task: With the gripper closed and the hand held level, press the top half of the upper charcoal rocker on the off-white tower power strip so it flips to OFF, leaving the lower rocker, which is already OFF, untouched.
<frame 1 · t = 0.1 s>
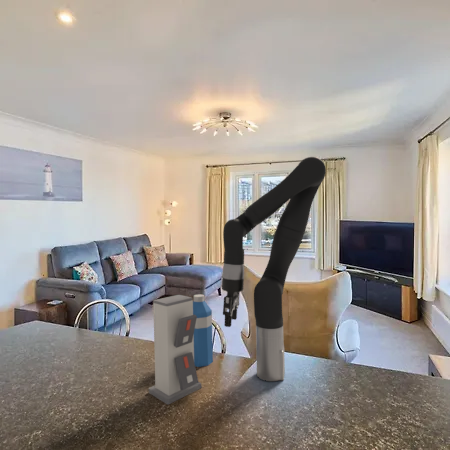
hand: (230, 322, 116), 17 cm above the kitchen counter, tool pointing down, fingers open, 8 cm apart
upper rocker: (185, 331, 100), point 20 cm above the kitchen counter, hinge at 18.0°
lower rocker: (186, 370, 100), point 8 cm above the kitchen counter, hinge at -18.0°
water bottle: (200, 362, 125), on the kitchen counter
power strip: (175, 390, 104), on the kitchen counter
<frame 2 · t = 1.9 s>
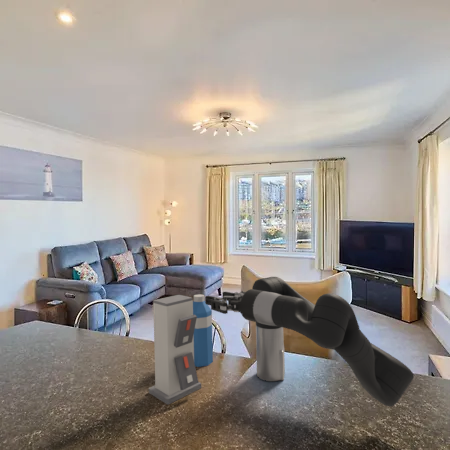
hand: (215, 297, 90), 32 cm above the kitchen counter, tool horizontal, fingers open, 6 cm apart
nothing on the kitchen counter moved.
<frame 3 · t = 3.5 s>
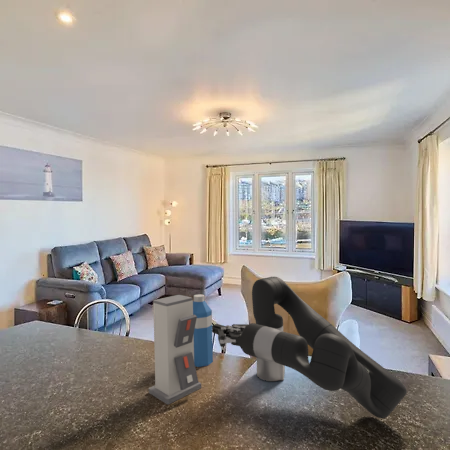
hand: (214, 328, 91), 24 cm above the kitchen counter, tool horizontal, fingers closed
nothing on the kitchen counter moved.
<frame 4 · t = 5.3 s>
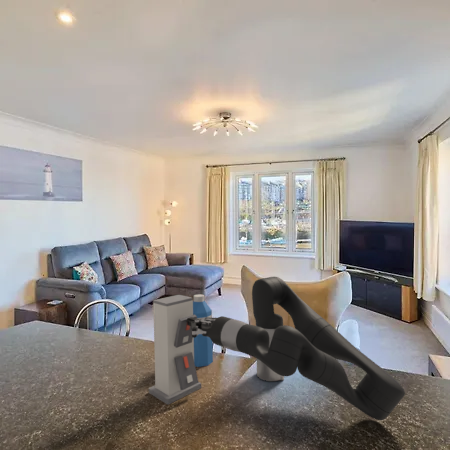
hand: (189, 320, 98), 23 cm above the kitchen counter, tool horizontal, fingers closed
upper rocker: (185, 331, 100), point 20 cm above the kitchen counter, hinge at 17.7°, touching gripper
everything else where it was.
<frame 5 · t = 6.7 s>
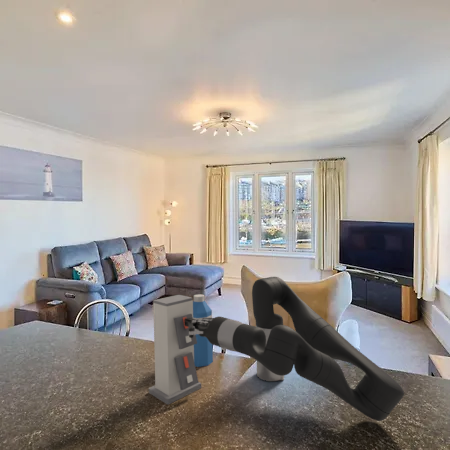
hand: (186, 321, 99), 23 cm above the kitchen counter, tool horizontal, fingers closed
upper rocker: (185, 330, 100), point 20 cm above the kitchen counter, hinge at -14.7°
everything else where it was.
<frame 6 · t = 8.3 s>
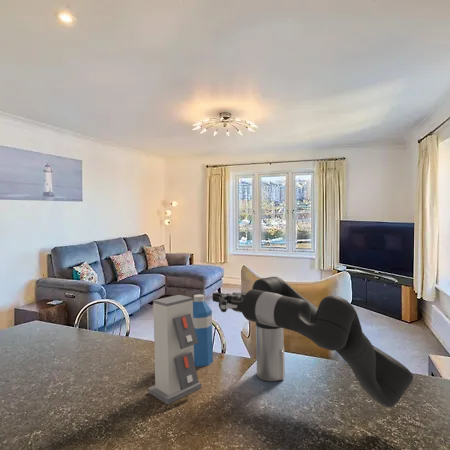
hand: (214, 296, 90), 32 cm above the kitchen counter, tool horizontal, fingers closed
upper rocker: (185, 330, 100), point 20 cm above the kitchen counter, hinge at -23.0°, touching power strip
everything else where it was.
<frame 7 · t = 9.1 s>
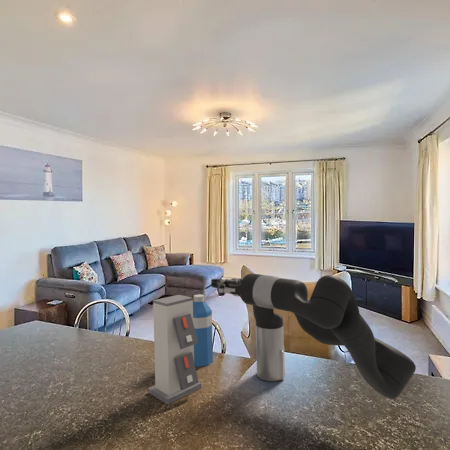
hand: (213, 282, 91), 36 cm above the kitchen counter, tool horizontal, fingers closed
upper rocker: (185, 330, 100), point 20 cm above the kitchen counter, hinge at -22.1°
everything else where it was.
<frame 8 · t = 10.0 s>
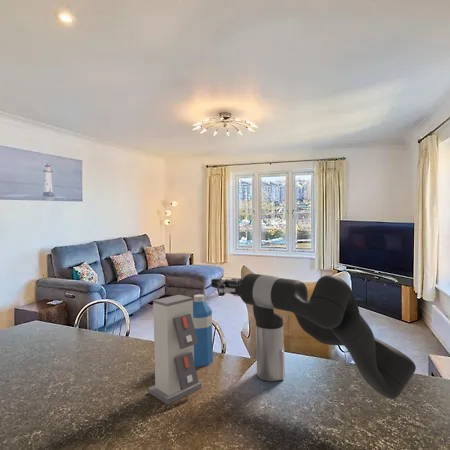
hand: (213, 282, 91), 36 cm above the kitchen counter, tool horizontal, fingers closed
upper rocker: (185, 330, 100), point 20 cm above the kitchen counter, hinge at -21.6°
everything else where it was.
at the end: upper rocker at -22° (first picture: +18°); lower rocker at -18° (first picture: -18°); water bottle moved 0.2 cm from its start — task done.
